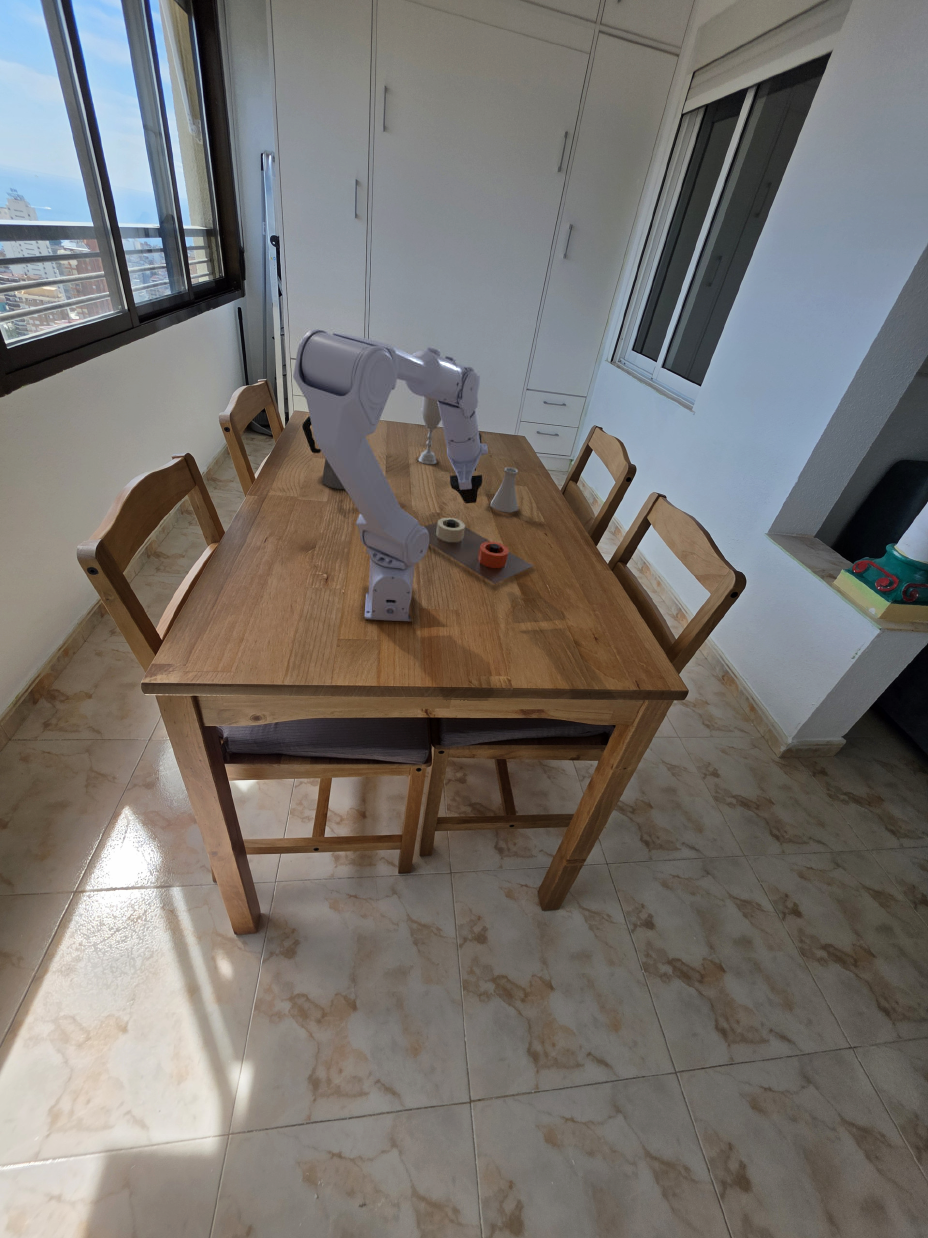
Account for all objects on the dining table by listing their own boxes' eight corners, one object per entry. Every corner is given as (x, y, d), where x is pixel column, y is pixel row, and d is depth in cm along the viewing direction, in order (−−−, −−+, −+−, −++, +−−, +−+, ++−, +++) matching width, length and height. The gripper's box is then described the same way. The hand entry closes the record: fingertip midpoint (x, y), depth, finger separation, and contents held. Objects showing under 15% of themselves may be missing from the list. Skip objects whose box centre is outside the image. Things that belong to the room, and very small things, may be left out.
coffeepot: (359, 472, 135) (361, 398, 124) (374, 487, 129) (377, 410, 118) (298, 476, 127) (294, 398, 117) (310, 493, 121) (308, 411, 111)
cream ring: (466, 542, 111) (468, 530, 109) (440, 542, 109) (441, 530, 107) (458, 529, 115) (460, 517, 113) (433, 529, 113) (435, 517, 111)
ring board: (532, 570, 107) (537, 550, 105) (493, 588, 100) (498, 568, 97) (449, 522, 119) (451, 503, 117) (408, 535, 112) (410, 515, 109)
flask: (483, 509, 127) (490, 469, 122) (496, 500, 133) (503, 461, 127) (510, 519, 125) (519, 478, 119) (522, 509, 131) (531, 470, 125)
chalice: (411, 456, 150) (417, 388, 139) (433, 455, 152) (441, 389, 142) (420, 465, 145) (427, 396, 134) (443, 465, 147) (452, 397, 137)
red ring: (509, 567, 105) (512, 555, 103) (483, 568, 103) (485, 555, 101) (500, 553, 109) (503, 541, 107) (474, 553, 107) (476, 541, 105)
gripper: (485, 460, 85) (492, 514, 97) (484, 397, 92) (490, 455, 104) (442, 464, 86) (454, 517, 98) (443, 401, 92) (454, 458, 104)
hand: (470, 485), depth 101 cm, fingers open, 7 cm apart
